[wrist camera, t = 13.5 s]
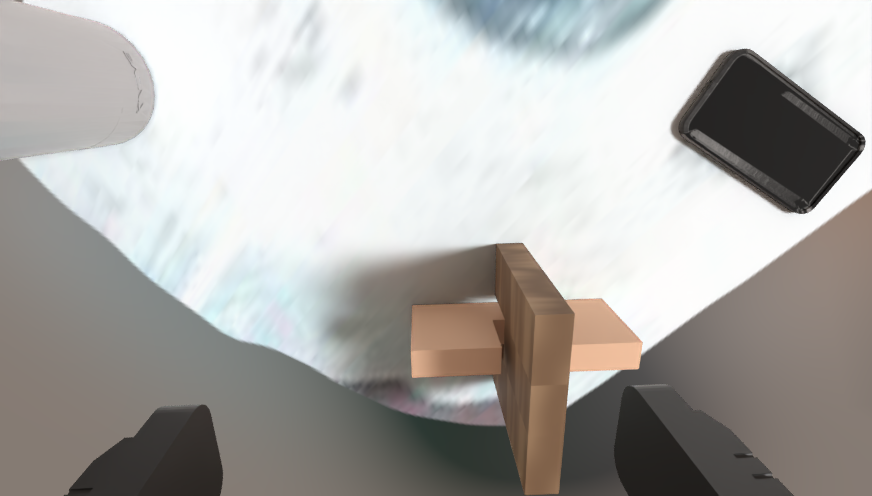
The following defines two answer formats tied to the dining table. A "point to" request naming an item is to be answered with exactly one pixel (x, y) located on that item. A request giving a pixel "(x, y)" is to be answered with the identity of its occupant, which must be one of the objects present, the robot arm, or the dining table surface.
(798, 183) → the phone
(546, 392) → the upright wooden board
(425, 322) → the horizontal wooden crosspiece
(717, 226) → the dining table surface
